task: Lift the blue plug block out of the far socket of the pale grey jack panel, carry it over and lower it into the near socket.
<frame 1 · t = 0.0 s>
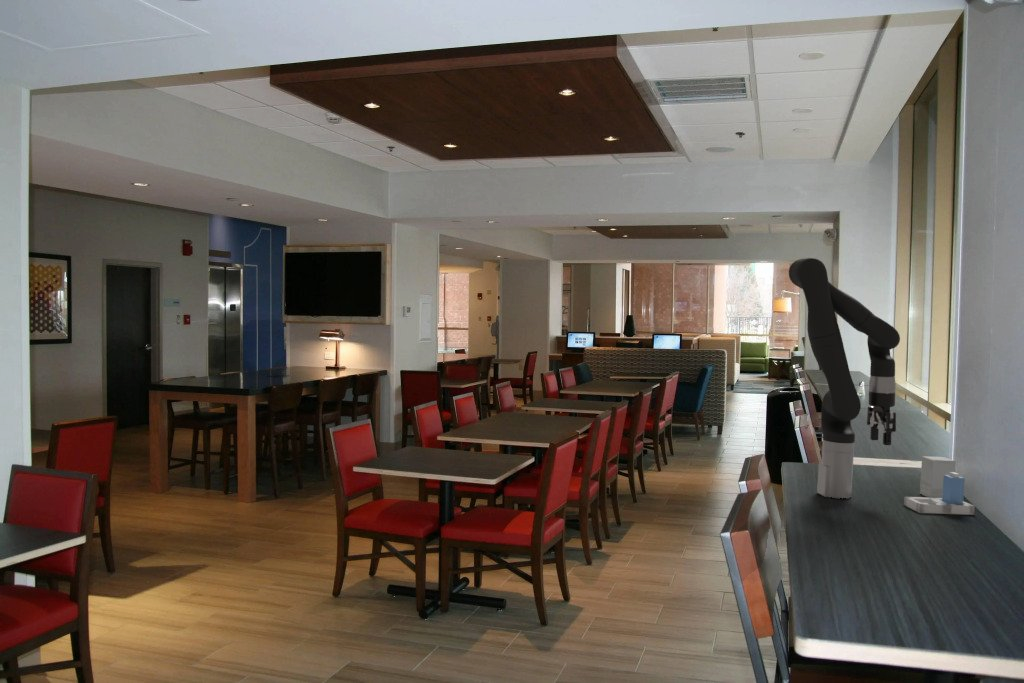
hand: (880, 442, 262), 17 cm above the counter, tool pointing down, fingers open, 8 cm apart
plug: (951, 510, 247), resting on jack panel
jack panel: (938, 511, 247), on the counter
supplement box: (936, 498, 265), on the counter
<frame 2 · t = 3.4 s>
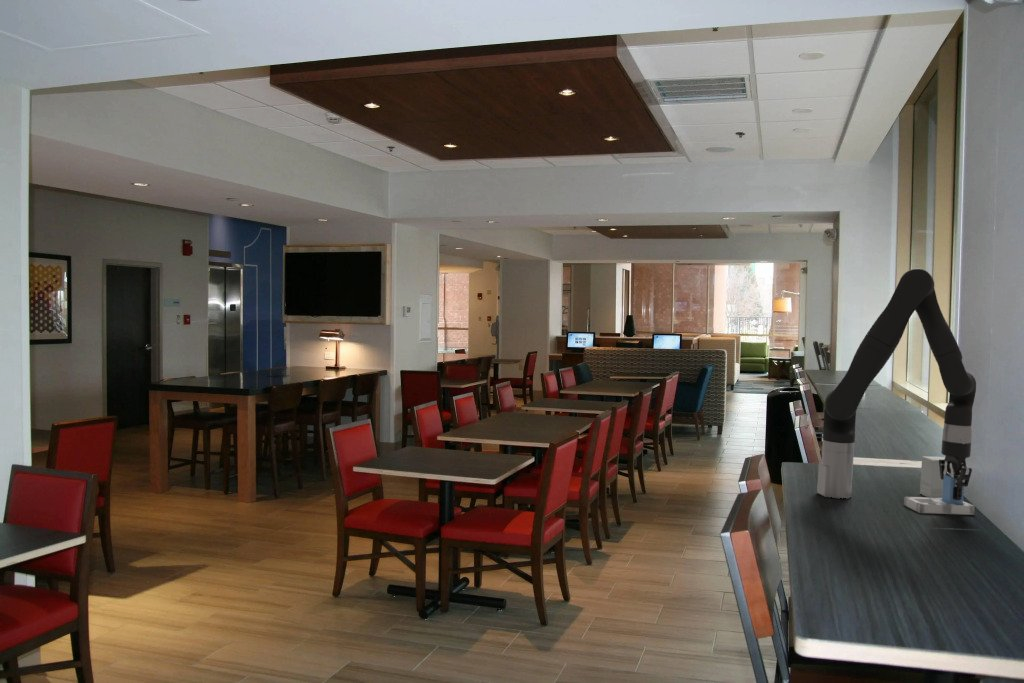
hand: (952, 497, 247), 4 cm above the counter, tool pointing down, fingers closed on plug, 4 cm apart
plug: (951, 510, 247), resting on jack panel, touching gripper
everything else where it was.
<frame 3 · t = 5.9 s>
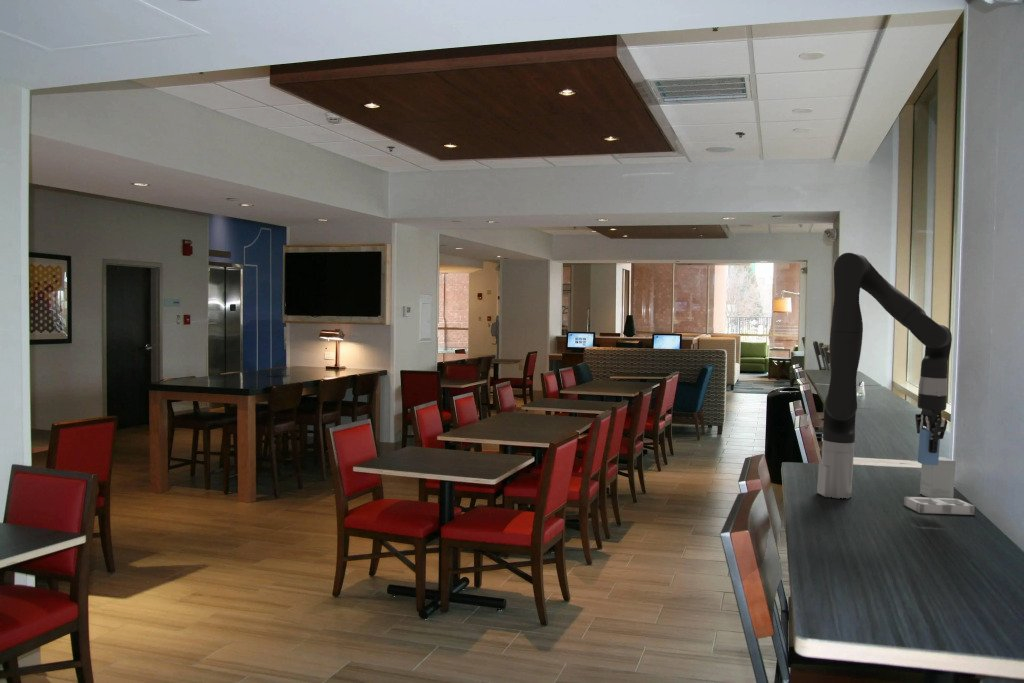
hand: (928, 451, 246), 18 cm above the counter, tool pointing down, fingers closed on plug, 4 cm apart
plug: (927, 463, 246), point 14 cm above the counter, touching gripper
everything else where it was.
when the fingers open (5 cm above the counter, at t = 8.8 s): plug stays where it is, resting on jack panel.
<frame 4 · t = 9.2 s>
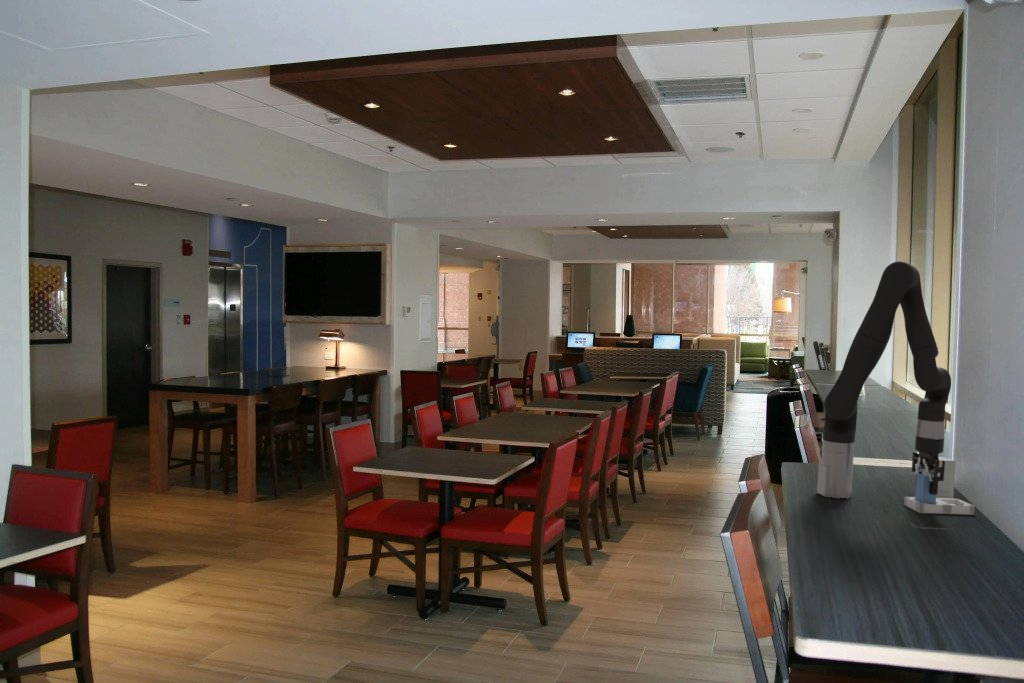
hand: (926, 491, 246), 6 cm above the counter, tool pointing down, fingers open, 7 cm apart
plug: (924, 509, 247), resting on jack panel
everything else where it was.
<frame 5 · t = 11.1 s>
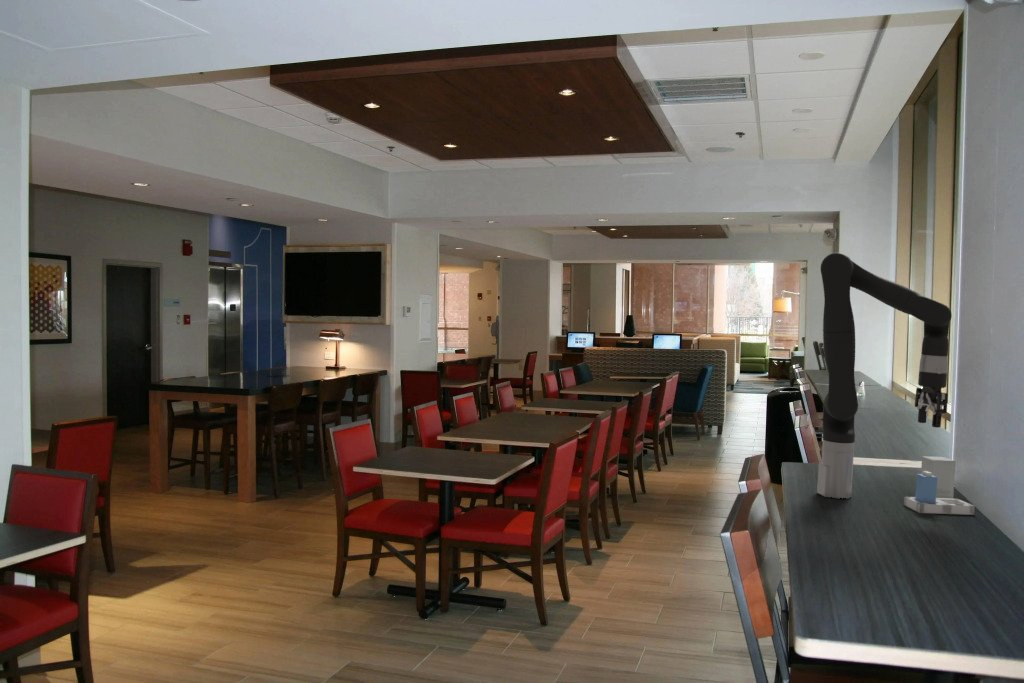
hand: (928, 425, 250), 25 cm above the counter, tool pointing down, fingers open, 8 cm apart
nothing on the counter moved.
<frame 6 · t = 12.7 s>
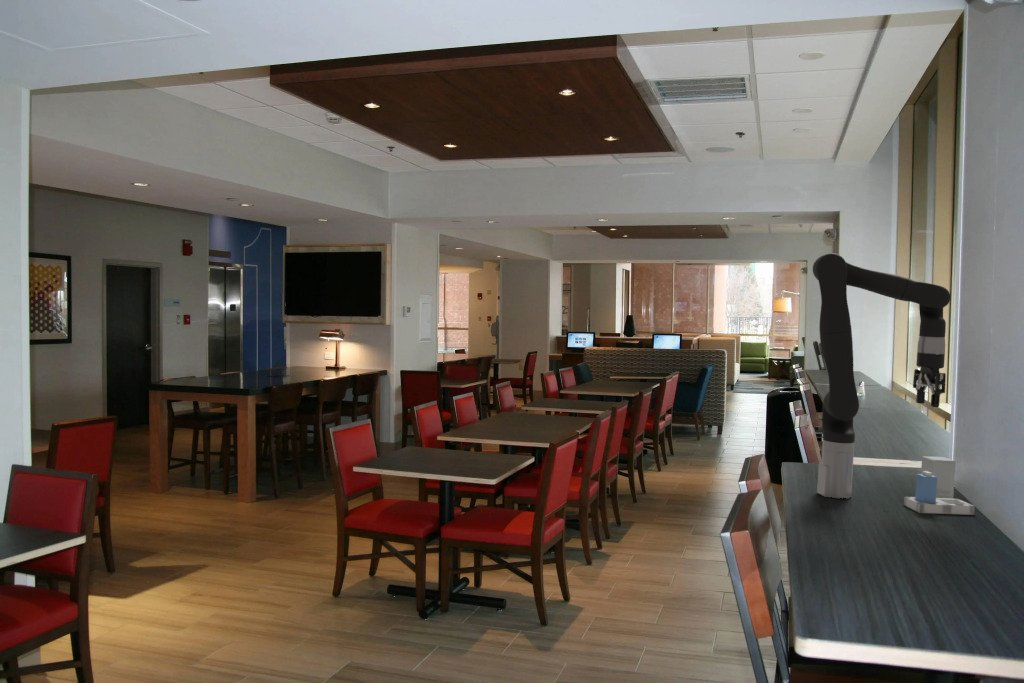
hand: (927, 405, 255), 30 cm above the counter, tool pointing down, fingers open, 8 cm apart
nothing on the counter moved.
at the end: plug 0.1 cm from the target spot on the jack panel, point 0.5 cm above the jack panel's base; plug tilted 0°; the gripper is holding nothing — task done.
